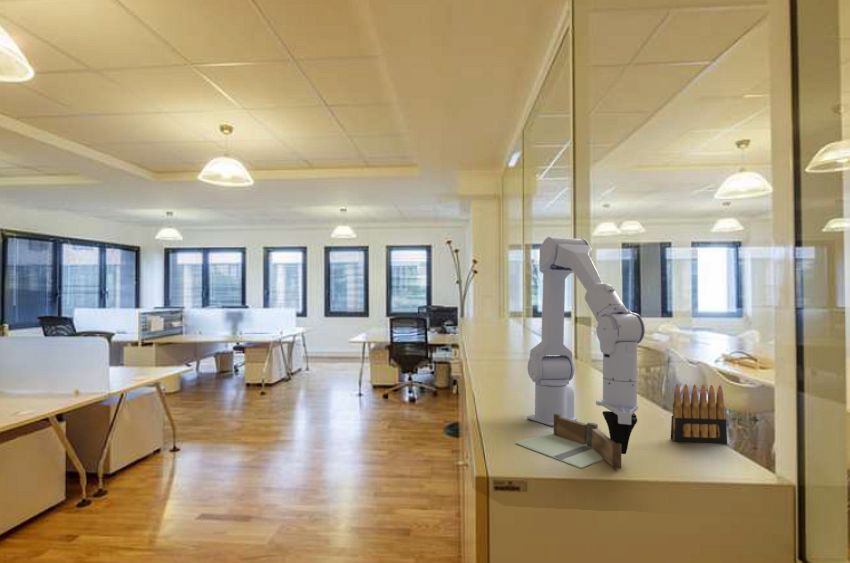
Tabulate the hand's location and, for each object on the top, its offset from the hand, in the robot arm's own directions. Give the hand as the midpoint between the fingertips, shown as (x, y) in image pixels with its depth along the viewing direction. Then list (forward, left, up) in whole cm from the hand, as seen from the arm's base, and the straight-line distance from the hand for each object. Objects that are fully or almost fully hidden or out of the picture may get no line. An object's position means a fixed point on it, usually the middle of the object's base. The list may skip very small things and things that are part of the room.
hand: (619, 453), depth 78 cm
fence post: (-3, -11, -1) cm, 11 cm away
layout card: (+1, -9, -1) cm, 10 cm away
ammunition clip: (-25, +4, -2) cm, 25 cm away
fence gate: (+1, -2, -1) cm, 3 cm away
